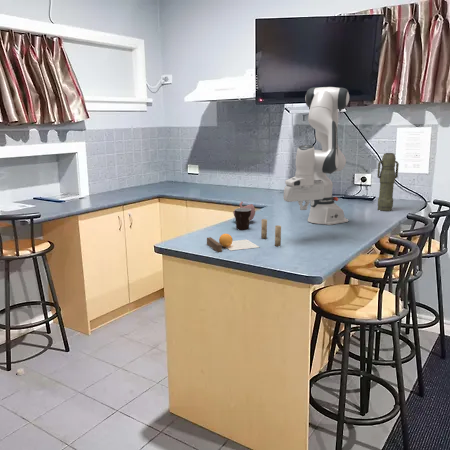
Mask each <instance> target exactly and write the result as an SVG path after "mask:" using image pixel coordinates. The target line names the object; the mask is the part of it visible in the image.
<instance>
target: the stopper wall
mask: <svg viewBox="0 0 450 450" xmlns="http://www.w3.org/2000/svg"><path fill="white" fill-rule="evenodd" d="M206 245H208V246H209V247H210V248H211V249H212V250H214V251H215V252H217V253H222V252H223V246H222V245H221V244H220V243H219V241H217V240H215V239H214V238H213V237H211V236H208V237H206Z"/></svg>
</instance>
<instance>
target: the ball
mask: <svg viewBox="0 0 450 450" xmlns="http://www.w3.org/2000/svg"><path fill="white" fill-rule="evenodd" d="M218 240H219V241H218V243H219V242H220V244H221V245H222V248H223V247H224V248H226V247H229V246H230V245H231V244H232V241H234V240H233V237H232V235H230V234H229V233H223V234H221V235H220V237H219V239H218Z"/></svg>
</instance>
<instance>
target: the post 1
mask: <svg viewBox="0 0 450 450" xmlns="http://www.w3.org/2000/svg"><path fill="white" fill-rule="evenodd" d="M260 226H261V228H260V229H261V231H260V233H261V236H260V237H261V239H262V240H265V239H268V238H267V236H268V235H267V234H268V219H267V218H266V219H265V218H263V219H261V225H260Z"/></svg>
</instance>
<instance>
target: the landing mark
mask: <svg viewBox="0 0 450 450" xmlns="http://www.w3.org/2000/svg"><path fill="white" fill-rule="evenodd" d="M218 243H220V242H219V241H218ZM225 248H226V249H227V250H229V251H230V252H232V251H240V250H249V249H250V250H251V249H256V248H257V249H258V248H260V246H259V245H257V244H255V243H254V242H252V241H250V240H248V239H239V240H237V239H236V240H233V241H232V244H231V245H230V246H229V247H225Z"/></svg>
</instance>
